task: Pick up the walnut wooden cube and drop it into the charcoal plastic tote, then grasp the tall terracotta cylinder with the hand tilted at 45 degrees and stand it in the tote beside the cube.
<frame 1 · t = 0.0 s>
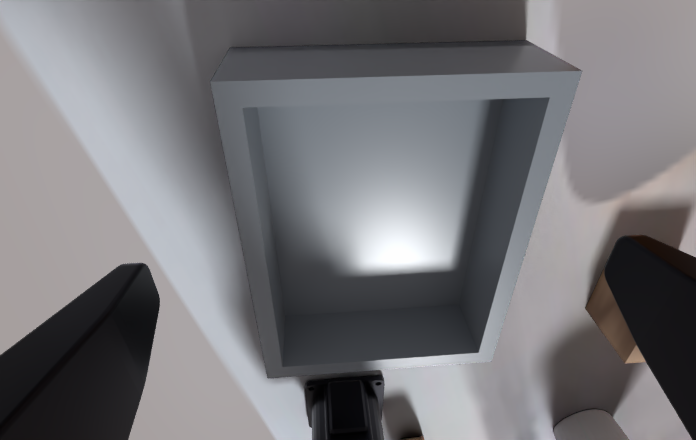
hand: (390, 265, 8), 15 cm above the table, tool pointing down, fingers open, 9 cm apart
tote: (375, 204, 25), on the table
coffee cup: (580, 422, 43), on the table
cube: (628, 281, 31), on the table
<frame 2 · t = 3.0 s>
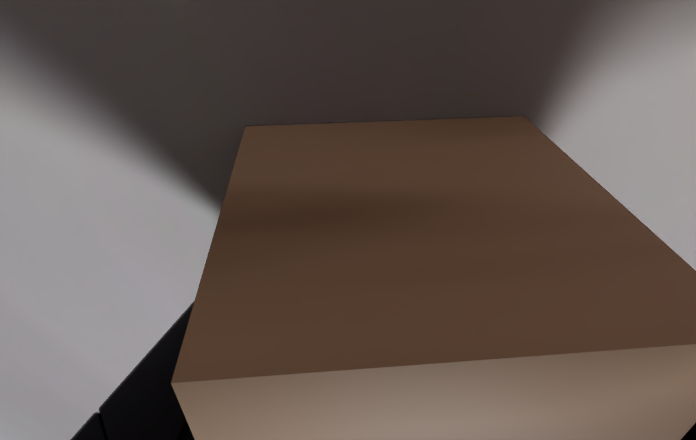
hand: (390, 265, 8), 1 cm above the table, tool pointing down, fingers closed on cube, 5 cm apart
cube: (381, 233, 9), on the table, touching gripper
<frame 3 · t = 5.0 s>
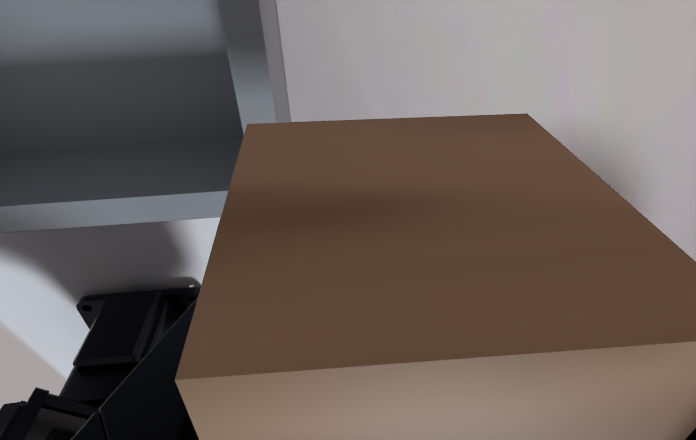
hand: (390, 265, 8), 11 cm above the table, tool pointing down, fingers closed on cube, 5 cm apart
cube: (383, 231, 9), point 10 cm above the table, touching gripper
when the fingers open (5 cm above the table, at t = 7.1 s): cube drops 3 cm, resting on tote.
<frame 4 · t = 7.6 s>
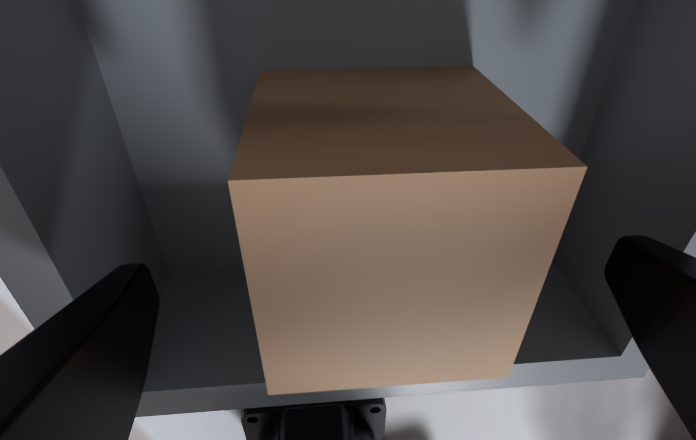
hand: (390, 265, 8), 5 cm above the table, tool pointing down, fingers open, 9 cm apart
cube: (365, 163, 11), point 1 cm above the table, touching tote
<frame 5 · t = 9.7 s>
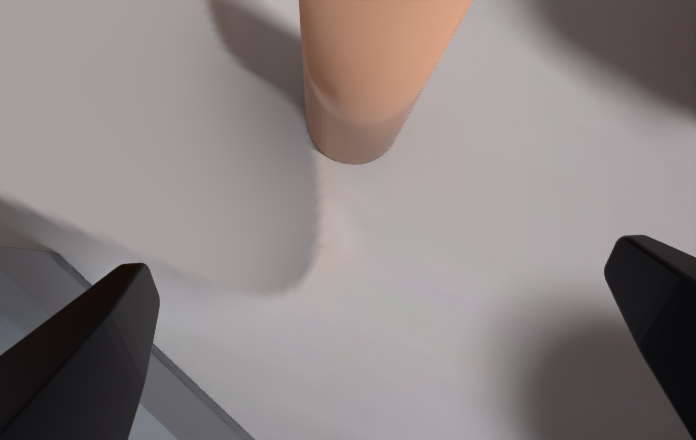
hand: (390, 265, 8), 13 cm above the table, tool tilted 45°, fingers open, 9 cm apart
cylinder: (353, 118, 22), on the table
when the fingers open (9 cm above the table, at t = 17.4 s): cylinder drops 2 cm, resting on tote.
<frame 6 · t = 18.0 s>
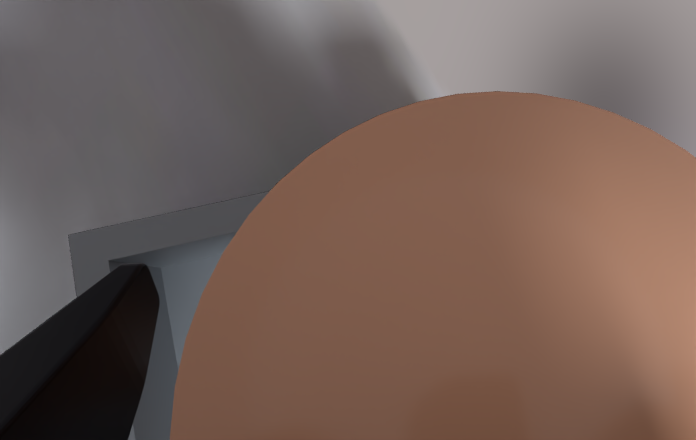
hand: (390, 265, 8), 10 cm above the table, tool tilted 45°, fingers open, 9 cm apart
tote: (359, 433, 17), on the table
cylinder: (361, 315, 16), point 1 cm above the table, touching tote
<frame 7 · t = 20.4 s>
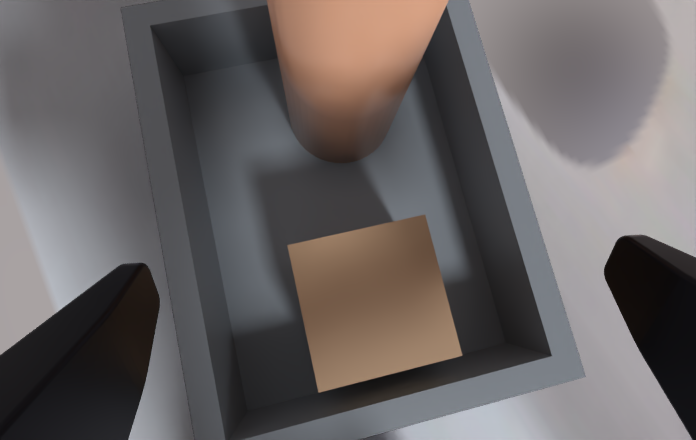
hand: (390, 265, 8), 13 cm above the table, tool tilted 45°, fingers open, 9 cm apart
tote: (338, 209, 21), on the table
cylinder: (340, 113, 21), point 1 cm above the table, touching tote
cube: (361, 297, 19), point 1 cm above the table, touching tote
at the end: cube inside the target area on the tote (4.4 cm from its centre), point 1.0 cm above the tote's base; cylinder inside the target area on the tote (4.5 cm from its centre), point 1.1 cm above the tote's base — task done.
